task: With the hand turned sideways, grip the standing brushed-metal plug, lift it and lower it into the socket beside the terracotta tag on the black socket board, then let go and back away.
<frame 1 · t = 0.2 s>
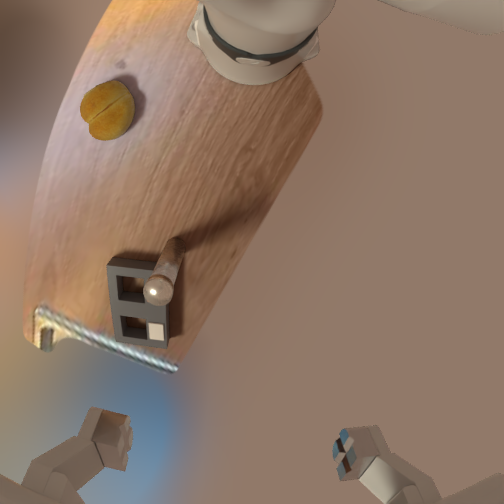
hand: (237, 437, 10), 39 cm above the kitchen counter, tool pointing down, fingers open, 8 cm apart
metal plug: (175, 247, 48), on the kitchen counter
socket board: (141, 300, 52), on the kitchen counter
bread roll: (110, 110, 39), on the kitchen counter
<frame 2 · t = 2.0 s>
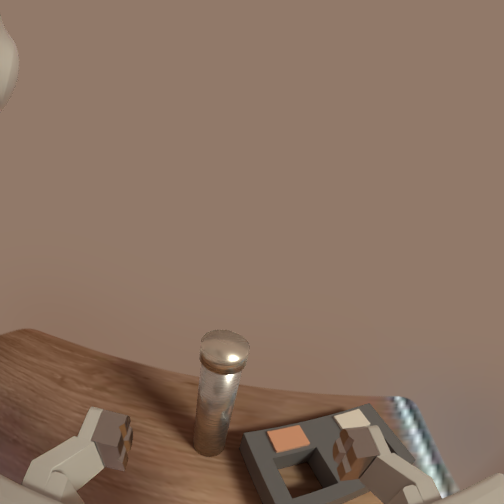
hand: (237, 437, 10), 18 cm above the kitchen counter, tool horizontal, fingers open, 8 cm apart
metal plug: (208, 444, 27), on the kitchen counter
socket board: (325, 466, 26), on the kitchen counter
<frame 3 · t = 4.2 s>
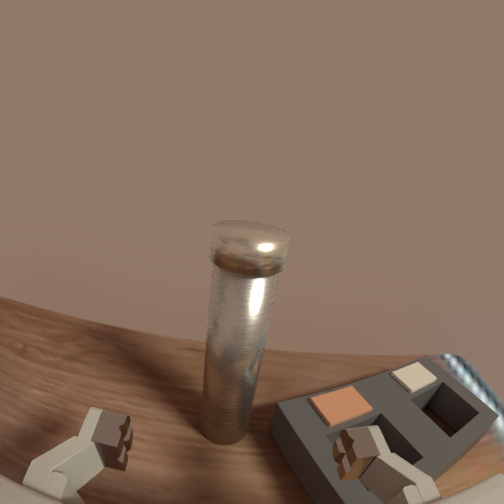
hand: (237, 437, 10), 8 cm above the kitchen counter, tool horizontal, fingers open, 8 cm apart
metal plug: (223, 427, 19), on the kitchen counter
socket board: (391, 443, 18), on the kitchen counter
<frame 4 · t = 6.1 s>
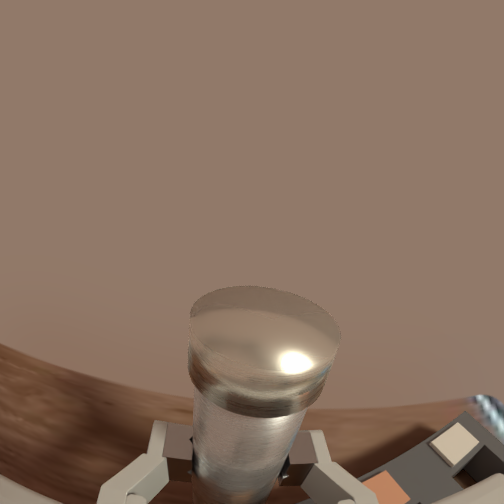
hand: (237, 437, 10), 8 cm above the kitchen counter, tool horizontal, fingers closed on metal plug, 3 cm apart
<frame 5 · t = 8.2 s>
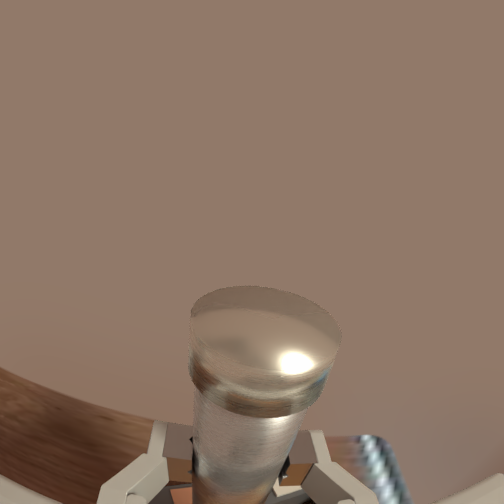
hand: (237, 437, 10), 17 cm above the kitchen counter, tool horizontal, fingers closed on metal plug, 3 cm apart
when the fingers open (9 cm above the kitchen counter, at t = 10.4 s): metal plug stays where it is, resting in socket board.
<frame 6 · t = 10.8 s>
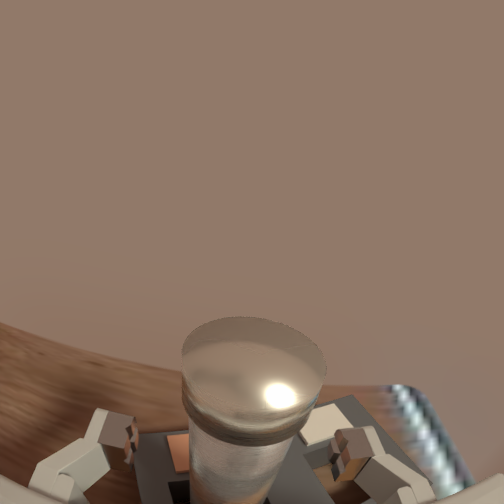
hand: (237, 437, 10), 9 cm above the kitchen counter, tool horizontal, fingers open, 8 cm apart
socket board: (277, 499, 14), on the kitchen counter
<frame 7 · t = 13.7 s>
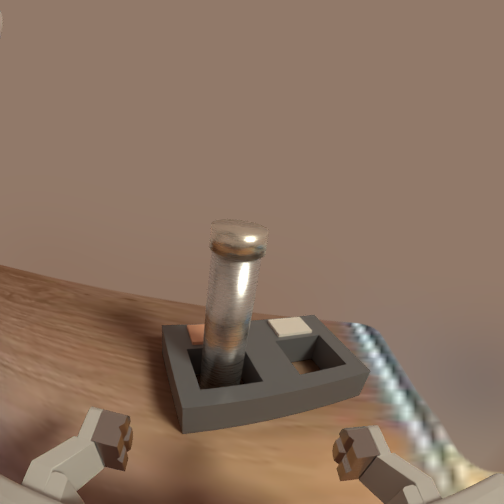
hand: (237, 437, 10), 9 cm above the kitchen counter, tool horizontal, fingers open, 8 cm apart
metal plug: (218, 391, 24), resting in socket board
socket board: (259, 377, 26), on the kitchen counter
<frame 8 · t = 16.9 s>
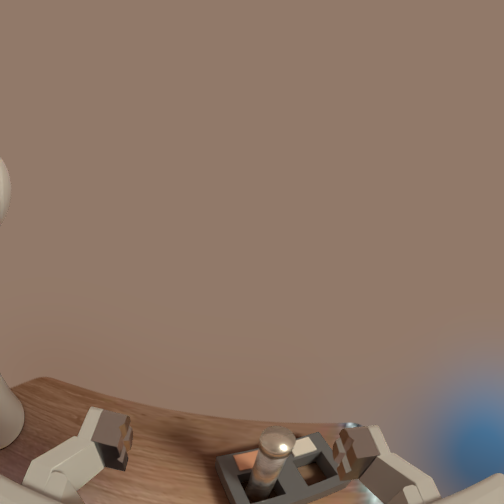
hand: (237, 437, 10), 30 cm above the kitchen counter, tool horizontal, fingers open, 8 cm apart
metal plug: (256, 493, 31), resting in socket board
socket board: (281, 480, 34), on the kitchen counter
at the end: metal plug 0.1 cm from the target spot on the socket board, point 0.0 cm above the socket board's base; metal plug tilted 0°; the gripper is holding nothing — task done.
